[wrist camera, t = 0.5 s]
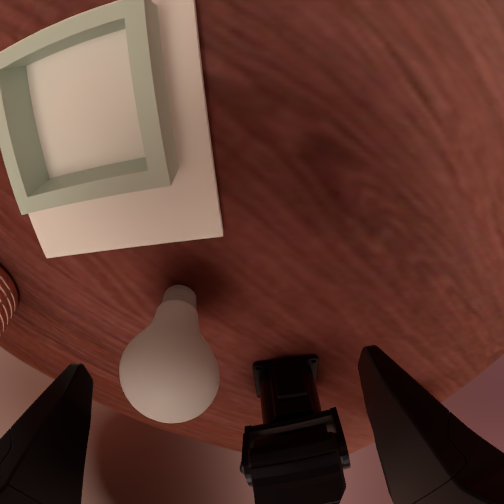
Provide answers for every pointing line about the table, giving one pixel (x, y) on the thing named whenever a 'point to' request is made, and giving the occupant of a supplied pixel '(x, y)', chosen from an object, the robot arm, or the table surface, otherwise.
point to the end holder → (111, 129)
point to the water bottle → (7, 299)
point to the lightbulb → (170, 363)
